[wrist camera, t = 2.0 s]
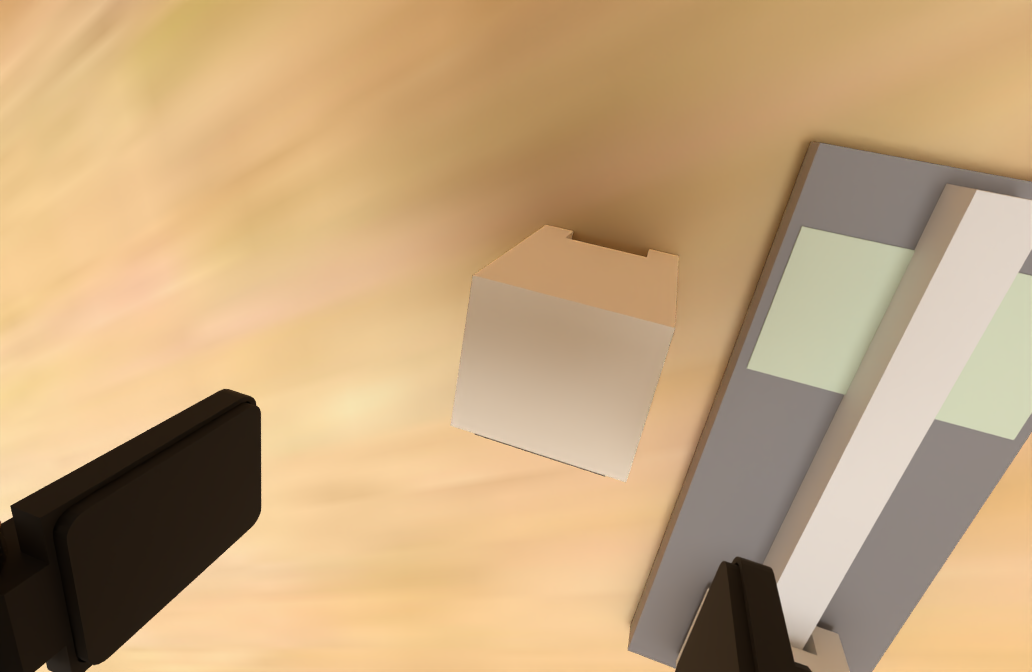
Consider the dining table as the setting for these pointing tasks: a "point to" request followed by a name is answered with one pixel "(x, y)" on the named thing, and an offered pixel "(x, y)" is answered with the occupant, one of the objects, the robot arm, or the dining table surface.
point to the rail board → (792, 428)
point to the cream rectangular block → (566, 349)
